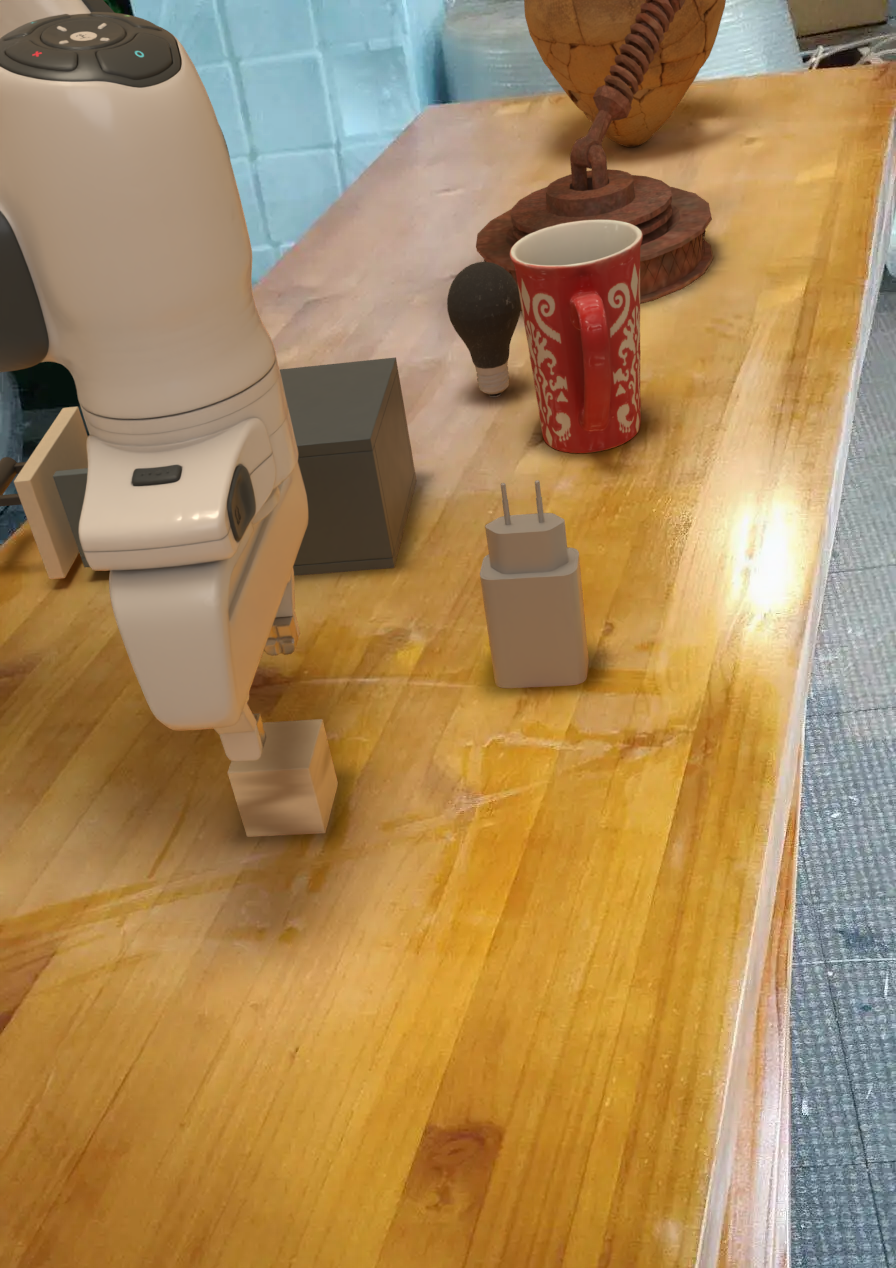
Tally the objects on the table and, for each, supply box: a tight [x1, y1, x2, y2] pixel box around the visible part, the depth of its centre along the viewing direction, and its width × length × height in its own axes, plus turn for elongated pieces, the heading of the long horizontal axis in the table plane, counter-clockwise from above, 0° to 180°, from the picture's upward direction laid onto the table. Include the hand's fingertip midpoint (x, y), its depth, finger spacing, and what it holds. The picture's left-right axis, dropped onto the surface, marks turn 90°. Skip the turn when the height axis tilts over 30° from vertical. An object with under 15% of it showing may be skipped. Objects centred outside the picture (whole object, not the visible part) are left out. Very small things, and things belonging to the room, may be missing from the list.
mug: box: [510, 220, 643, 454], centre depth 103 cm, size 13×9×14 cm
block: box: [227, 718, 339, 838], centre depth 79 cm, size 4×4×4 cm
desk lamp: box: [475, 0, 714, 312], centre depth 118 cm, size 21×32×40 cm, turn 132°
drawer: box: [0, 406, 91, 580], centre depth 103 cm, size 18×11×7 cm, turn 84°
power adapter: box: [479, 479, 590, 689], centre depth 82 cm, size 3×5×12 cm, turn 82°
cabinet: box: [279, 357, 417, 577], centre depth 101 cm, size 15×13×9 cm
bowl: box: [523, 0, 727, 148], centre depth 151 cm, size 21×20×20 cm
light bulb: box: [446, 261, 522, 398], centre depth 112 cm, size 6×6×10 cm
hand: (266, 698), depth 75 cm, fingers open, 8 cm apart
